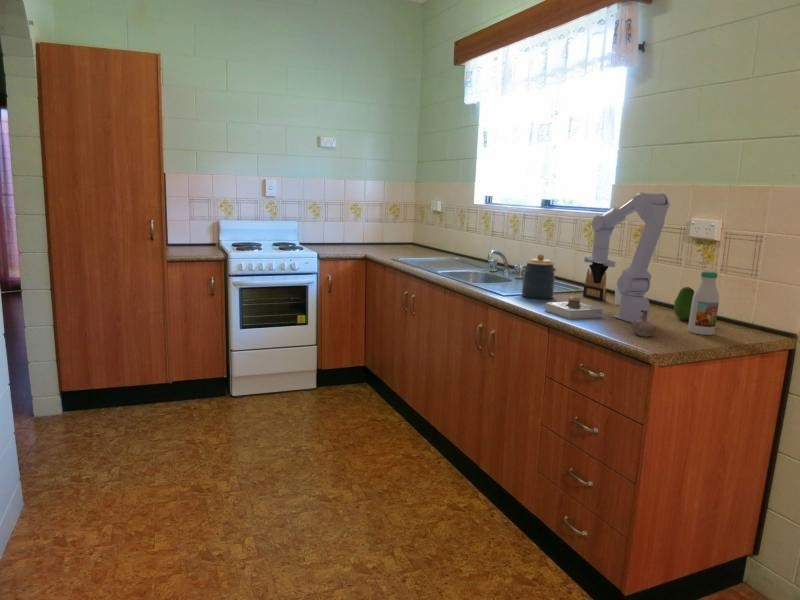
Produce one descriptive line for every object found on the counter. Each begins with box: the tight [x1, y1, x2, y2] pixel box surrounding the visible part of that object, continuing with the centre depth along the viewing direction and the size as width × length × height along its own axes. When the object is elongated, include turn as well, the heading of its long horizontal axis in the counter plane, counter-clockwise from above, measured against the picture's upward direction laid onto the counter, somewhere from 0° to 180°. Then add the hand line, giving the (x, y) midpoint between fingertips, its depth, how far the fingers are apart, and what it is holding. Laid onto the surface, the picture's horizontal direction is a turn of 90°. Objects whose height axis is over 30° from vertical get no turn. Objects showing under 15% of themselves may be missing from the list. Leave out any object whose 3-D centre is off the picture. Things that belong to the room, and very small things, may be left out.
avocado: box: [673, 286, 695, 321], centre depth 209 cm, size 8×8×12 cm
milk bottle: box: [687, 270, 720, 336], centre depth 189 cm, size 8×8×20 cm
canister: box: [521, 253, 557, 300], centre depth 243 cm, size 13×13×18 cm
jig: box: [544, 301, 603, 320], centre depth 212 cm, size 14×14×3 cm
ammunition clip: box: [582, 268, 607, 302], centre depth 244 cm, size 11×2×12 cm, turn 29°
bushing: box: [567, 296, 581, 307], centre depth 212 cm, size 4×4×6 cm
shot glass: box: [614, 285, 621, 306], centre depth 234 cm, size 7×7×7 cm
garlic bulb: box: [631, 310, 656, 338], centre depth 185 cm, size 8×7×8 cm
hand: (596, 283), depth 224 cm, fingers closed
